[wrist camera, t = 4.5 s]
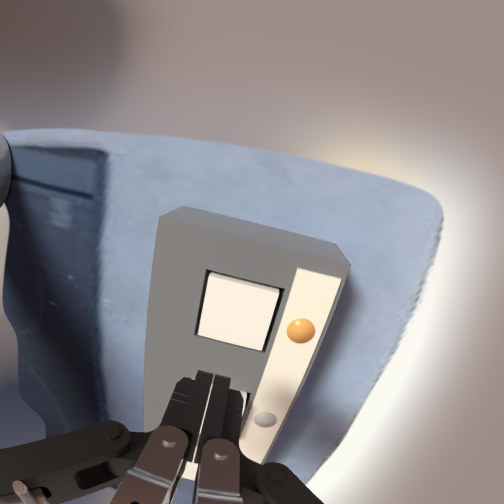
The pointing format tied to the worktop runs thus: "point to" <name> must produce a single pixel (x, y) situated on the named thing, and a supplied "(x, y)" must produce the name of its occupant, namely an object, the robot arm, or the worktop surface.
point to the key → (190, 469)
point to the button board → (226, 354)
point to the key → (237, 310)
